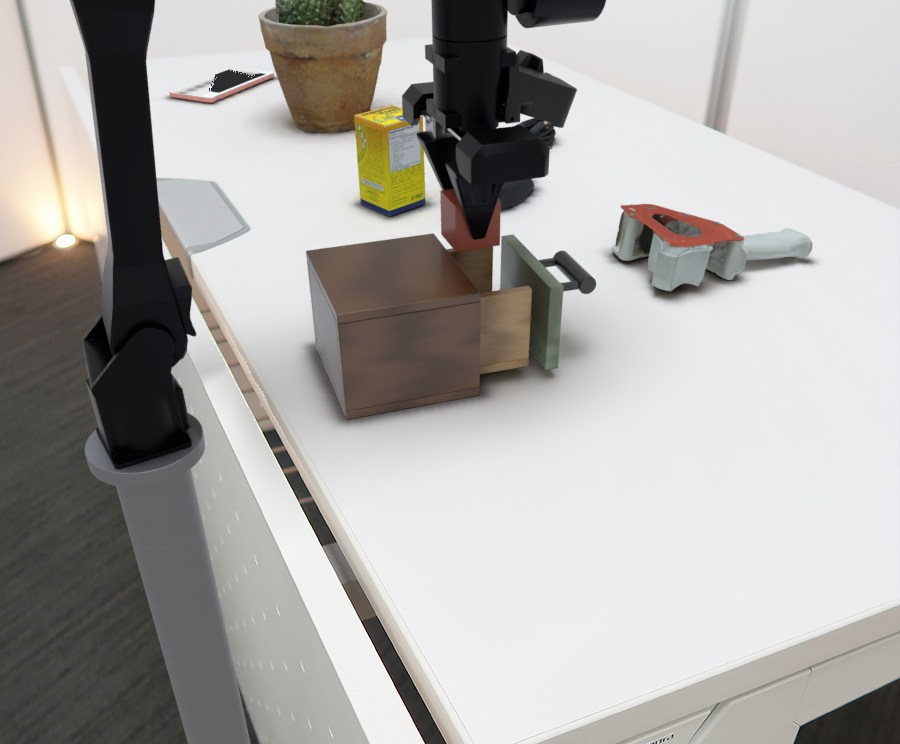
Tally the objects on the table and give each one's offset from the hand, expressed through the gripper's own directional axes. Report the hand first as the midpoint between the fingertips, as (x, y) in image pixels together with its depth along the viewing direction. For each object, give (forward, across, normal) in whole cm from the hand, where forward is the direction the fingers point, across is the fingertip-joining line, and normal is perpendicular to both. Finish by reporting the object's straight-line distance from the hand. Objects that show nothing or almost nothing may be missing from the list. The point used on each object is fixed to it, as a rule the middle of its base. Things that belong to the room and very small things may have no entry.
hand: (469, 229), depth 79 cm
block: (+1, 0, 0) cm, 1 cm away
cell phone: (+11, +97, +10) cm, 99 cm away
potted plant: (+11, +72, -3) cm, 73 cm away
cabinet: (+11, -2, +8) cm, 14 cm away
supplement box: (+11, +36, -3) cm, 38 cm away
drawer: (+10, -3, -2) cm, 11 cm away
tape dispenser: (+12, +6, -28) cm, 31 cm away
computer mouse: (+12, +42, -21) cm, 48 cm away
